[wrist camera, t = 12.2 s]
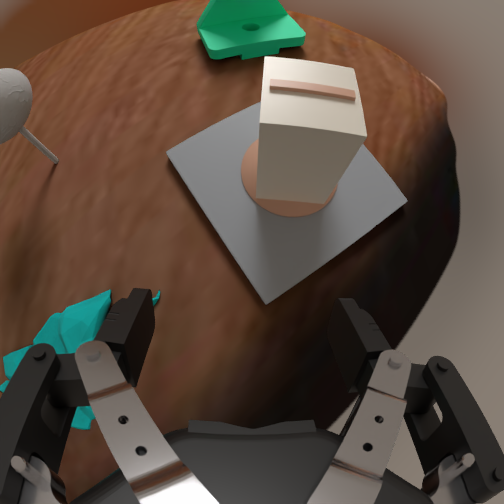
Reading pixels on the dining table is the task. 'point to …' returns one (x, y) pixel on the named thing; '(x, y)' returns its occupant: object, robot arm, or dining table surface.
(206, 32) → the camera mount
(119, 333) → the robot arm
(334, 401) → the dining table surface
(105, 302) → the cloth
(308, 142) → the striped cream block
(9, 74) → the lollipop
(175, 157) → the base
